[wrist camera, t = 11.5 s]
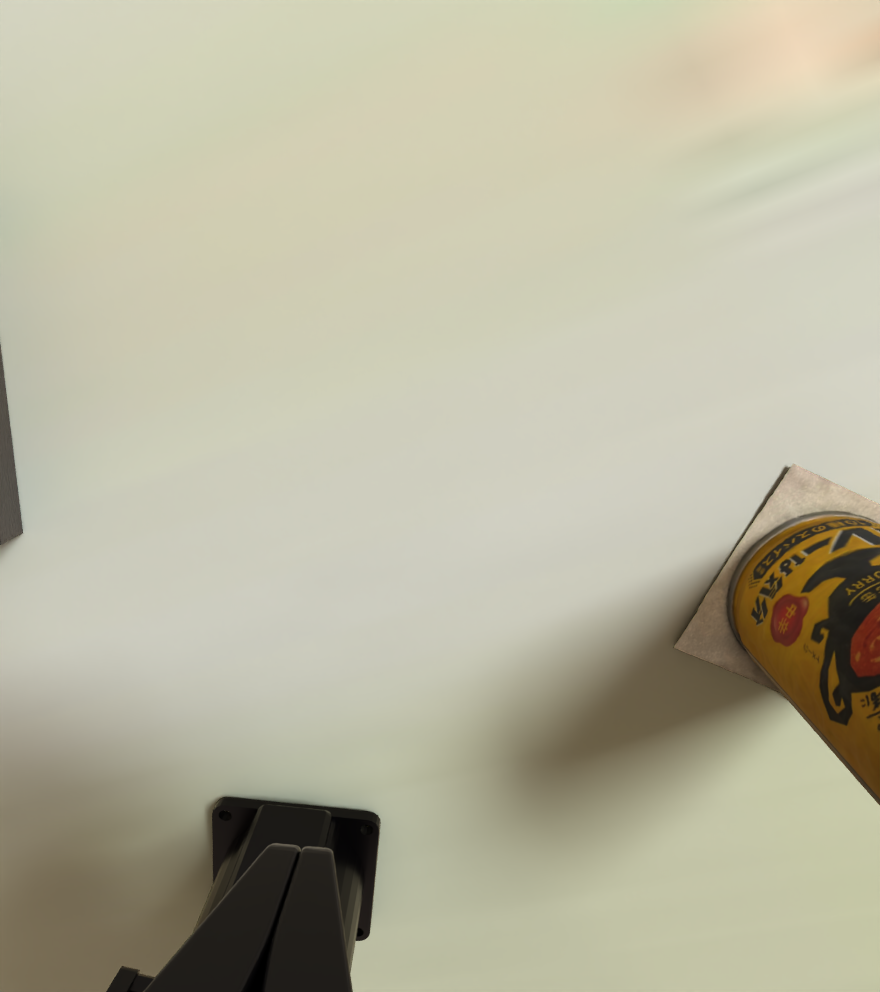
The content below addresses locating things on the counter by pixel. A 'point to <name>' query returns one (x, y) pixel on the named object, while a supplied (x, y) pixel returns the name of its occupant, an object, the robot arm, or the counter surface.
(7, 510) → the rack
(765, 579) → the condiment
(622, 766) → the counter surface
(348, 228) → the counter surface
